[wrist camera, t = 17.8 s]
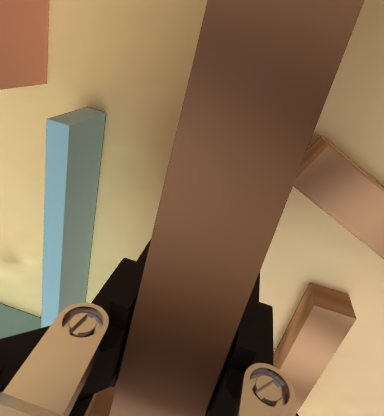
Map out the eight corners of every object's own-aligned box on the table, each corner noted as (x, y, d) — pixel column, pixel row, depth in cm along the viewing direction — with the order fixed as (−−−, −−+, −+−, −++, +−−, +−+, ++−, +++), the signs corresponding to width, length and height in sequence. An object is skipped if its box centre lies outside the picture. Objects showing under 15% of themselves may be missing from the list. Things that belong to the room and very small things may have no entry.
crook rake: (221, -129, 13) (129, -736, 4) (419, -85, 13) (960, -682, 3) (110, 367, 23) (5, 565, 13) (219, 406, 22) (192, 645, 13)
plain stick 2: (309, 279, 22) (314, 305, 19) (347, 291, 21) (356, 318, 19) (246, 404, 28) (244, 434, 26) (275, 415, 28) (275, 446, 26)
